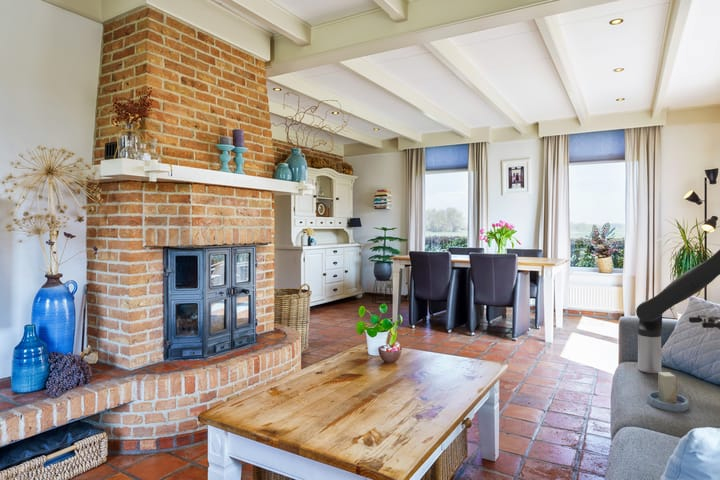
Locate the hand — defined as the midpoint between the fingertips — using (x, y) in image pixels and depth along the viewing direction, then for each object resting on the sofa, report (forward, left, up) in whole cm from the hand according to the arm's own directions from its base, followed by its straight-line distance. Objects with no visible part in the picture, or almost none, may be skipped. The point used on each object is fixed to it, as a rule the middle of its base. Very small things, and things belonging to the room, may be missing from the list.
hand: (696, 322), depth 176 cm
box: (+10, -16, -29) cm, 35 cm away
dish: (+10, -16, -30) cm, 35 cm away
